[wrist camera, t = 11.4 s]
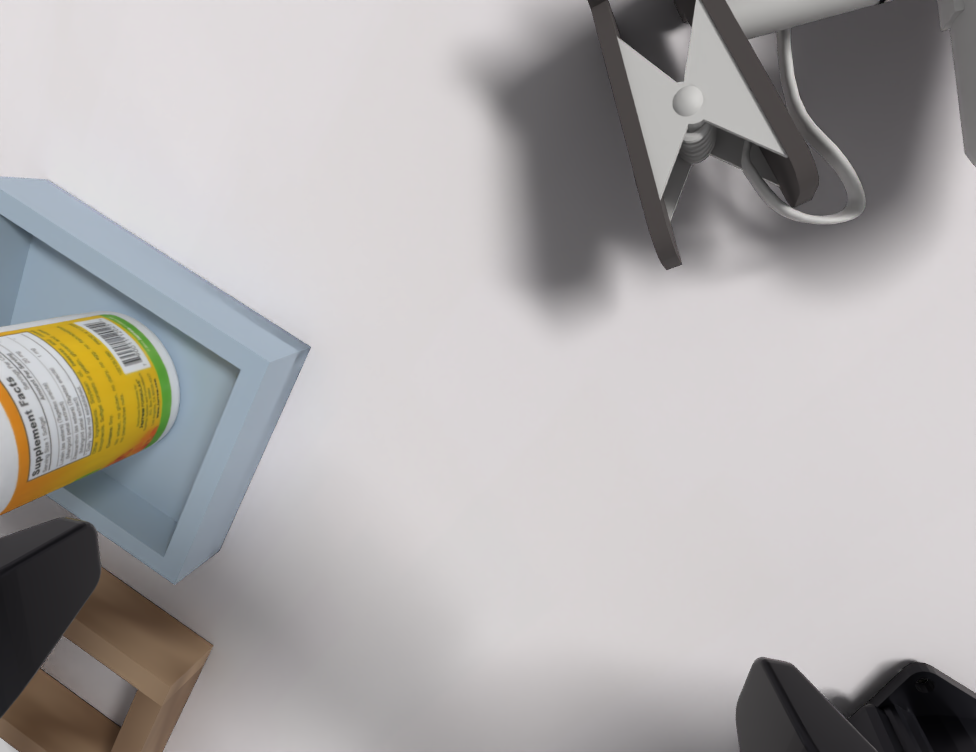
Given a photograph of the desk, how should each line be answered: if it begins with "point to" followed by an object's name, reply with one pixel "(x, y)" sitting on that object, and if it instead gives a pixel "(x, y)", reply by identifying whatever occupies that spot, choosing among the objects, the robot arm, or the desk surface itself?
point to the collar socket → (130, 654)
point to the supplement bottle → (78, 399)
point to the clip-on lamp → (745, 106)
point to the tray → (195, 354)
